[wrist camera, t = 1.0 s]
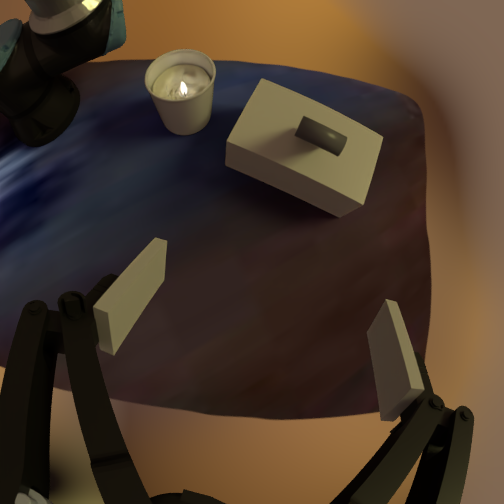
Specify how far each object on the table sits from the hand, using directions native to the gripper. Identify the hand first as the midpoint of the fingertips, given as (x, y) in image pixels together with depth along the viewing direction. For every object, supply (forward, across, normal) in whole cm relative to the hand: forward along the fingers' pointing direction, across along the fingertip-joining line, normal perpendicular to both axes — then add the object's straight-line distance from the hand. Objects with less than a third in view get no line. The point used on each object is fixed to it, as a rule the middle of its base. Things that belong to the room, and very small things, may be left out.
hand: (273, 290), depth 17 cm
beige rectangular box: (+36, 0, +1) cm, 36 cm away
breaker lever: (+28, +2, +6) cm, 29 cm away
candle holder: (+36, -19, +4) cm, 41 cm away
